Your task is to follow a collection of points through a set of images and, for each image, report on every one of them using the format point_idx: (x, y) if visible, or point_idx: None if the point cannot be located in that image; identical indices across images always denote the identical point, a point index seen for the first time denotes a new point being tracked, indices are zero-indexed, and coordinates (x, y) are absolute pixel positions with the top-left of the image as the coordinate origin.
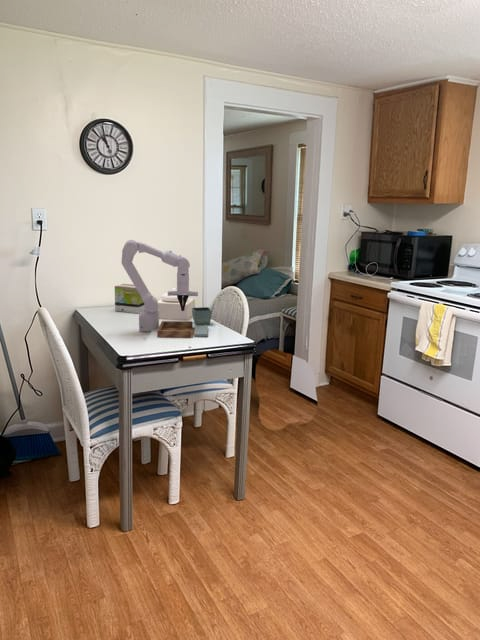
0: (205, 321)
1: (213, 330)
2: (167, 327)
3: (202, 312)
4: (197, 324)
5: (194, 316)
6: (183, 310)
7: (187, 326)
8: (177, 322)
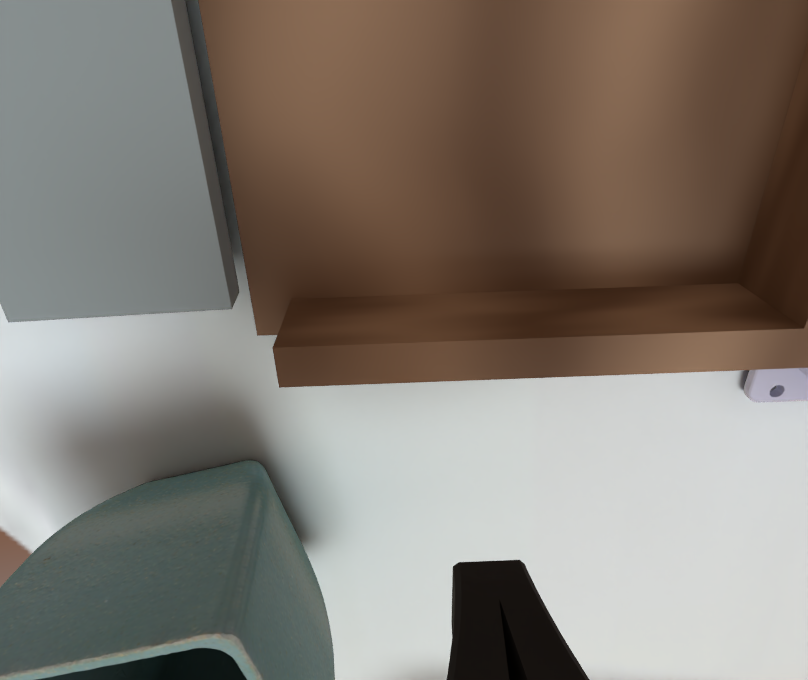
0: (121, 516)
1: (6, 343)
2: (686, 286)
3: (91, 632)
4: (248, 471)
5: (274, 576)
6: (472, 571)
7: (368, 306)
8: (551, 330)
